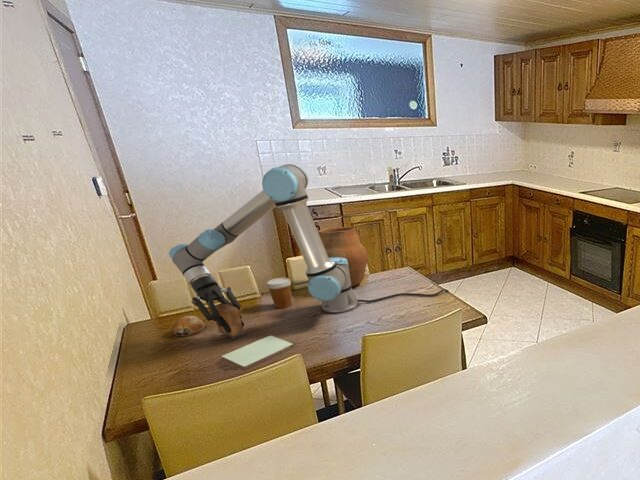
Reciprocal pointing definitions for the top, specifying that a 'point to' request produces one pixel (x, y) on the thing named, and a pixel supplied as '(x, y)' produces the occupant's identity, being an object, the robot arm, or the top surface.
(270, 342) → the wipe board
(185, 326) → the bread roll
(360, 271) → the pot
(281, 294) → the disposable coffee cup
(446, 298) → the top surface
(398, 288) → the top surface
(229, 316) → the eraser
